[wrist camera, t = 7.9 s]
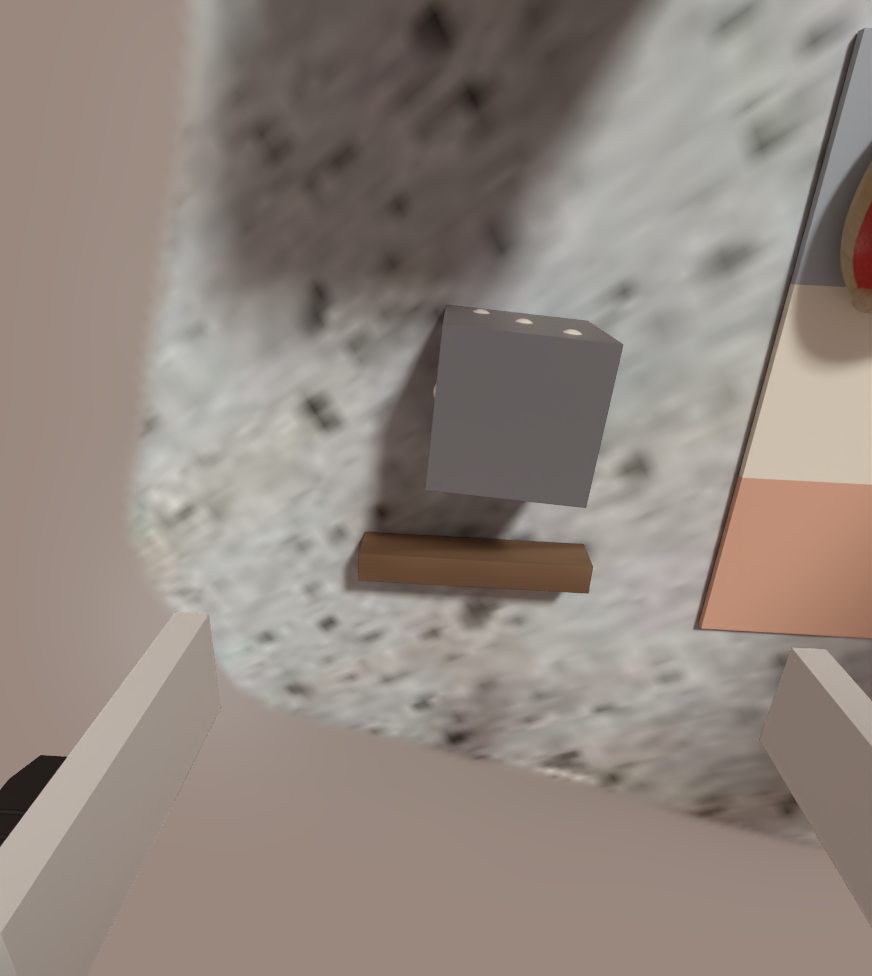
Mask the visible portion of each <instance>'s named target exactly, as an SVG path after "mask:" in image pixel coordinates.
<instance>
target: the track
mask: <svg viewBox="0 0 872 976" xmlns="http://www.w3.org/2000/svg"><path fill="white" fill-rule="evenodd" d="M871 161H872V28H864V29H862V30H860V31H858V34H857V38H856V42H855V45H854V49H853V53H852V57H851V60H850V64H849V68H848V71H847V75H846V79H845V83H844V86H843V90H842V94H841V97H840V101H839V105H838V109H837V112H836V116H835V120H834V123H833V127H832V131H831V135H830V138H829V142H828V146H827V149H826V153H825V157H824V161H823V164H822V168H821V172H820V175H819V179H818V183H817V187H816V190H815V194H814V198H813V201H812V205H811V209H810V213H809V216H808V220H807V224H806V227H805V231H804V235H803V239H802V242H801V246H800V250H799V253H798V257H797V261H796V265H795V268H794V272H793V276H792V279H791V283H790V287H789V291H788V294H787V298H786V302H785V305H784V309H783V313H782V317H781V320H780V324H779V328H778V331H777V335H776V339H775V343H774V346H773V350H772V354H771V357H770V361H769V365H768V369H767V372H766V376H765V380H764V383H763V387H762V391H761V395H760V398H759V402H758V406H757V409H756V413H755V417H754V421H753V424H752V428H751V432H750V435H749V439H748V443H747V447H746V450H745V454H744V458H743V461H742V465H741V469H740V473H739V476H738V480H737V484H736V487H735V491H734V495H733V499H732V502H731V506H730V510H729V513H728V517H727V521H726V525H725V528H724V532H723V536H722V539H721V543H720V547H719V551H718V554H717V558H716V562H715V565H714V569H713V573H712V577H711V580H710V584H709V588H708V591H707V595H706V599H705V603H704V606H703V610H702V614H701V617H700V621H699V626H700V627H701V629H719V630H736V631H754V632H772V633H789V634H807V635H824V636H842V637H859V638H872V313H868V314H867V313H863V312H860V311H858V310H857V309H856V308H855V307H854V306H853V304H852V296H851V294H850V292H849V291H848V289H847V287H846V284H845V282H844V279H843V275H842V271H841V263H840V248H841V239H842V233H843V228H844V224H845V219H846V217H847V214H848V211H849V208H850V205H851V203H852V200H853V198H854V196H855V193H856V191H857V188H858V186H859V184H860V182H861V180H862V178H863V176H864V174H865V172H866V170H867V168H868V167H869V165H870V163H871Z"/></svg>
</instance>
